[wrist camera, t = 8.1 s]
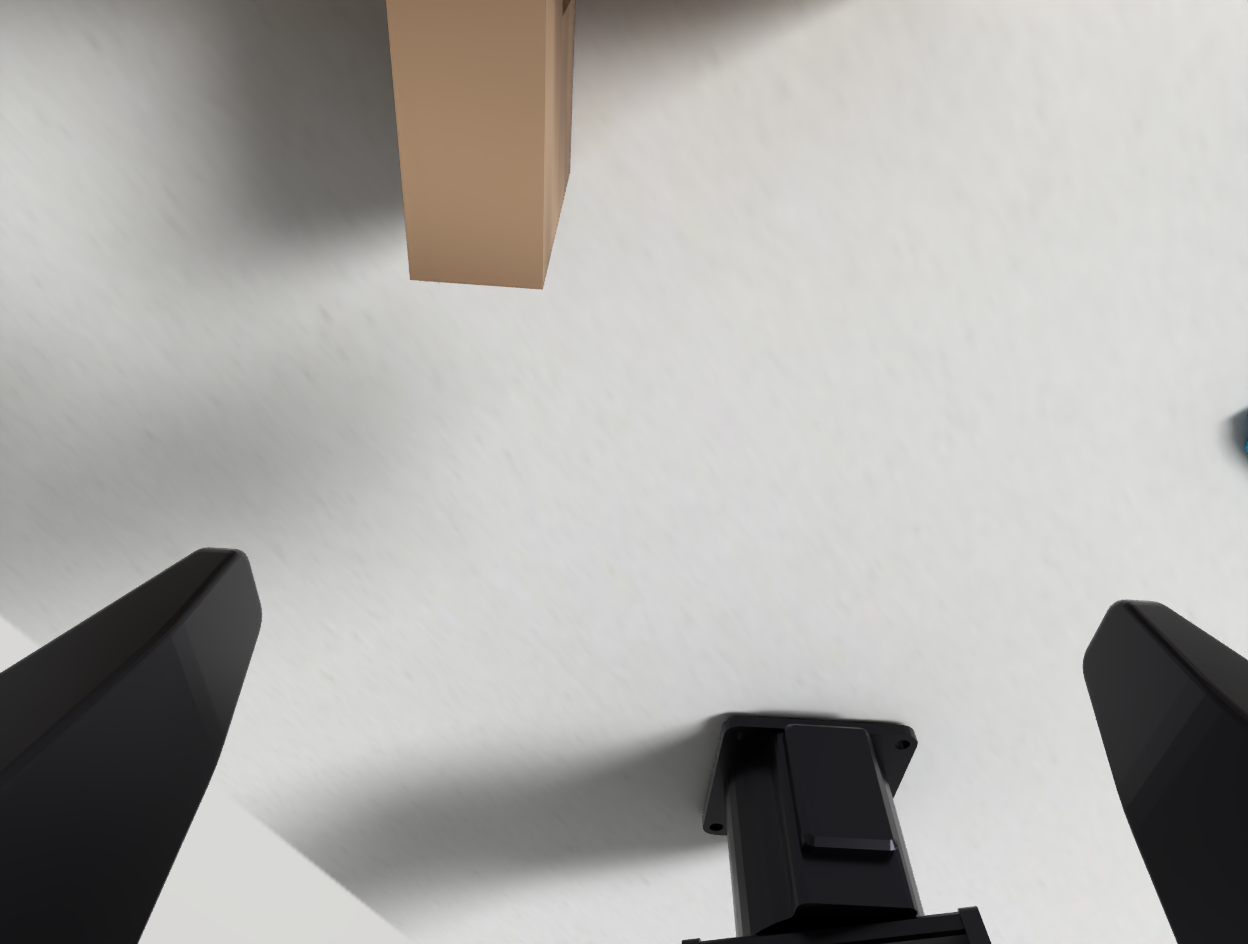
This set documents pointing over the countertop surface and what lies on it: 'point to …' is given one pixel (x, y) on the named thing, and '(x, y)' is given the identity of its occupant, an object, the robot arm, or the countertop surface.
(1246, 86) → the countertop surface
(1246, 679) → the robot arm
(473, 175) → the walnut slot plate
